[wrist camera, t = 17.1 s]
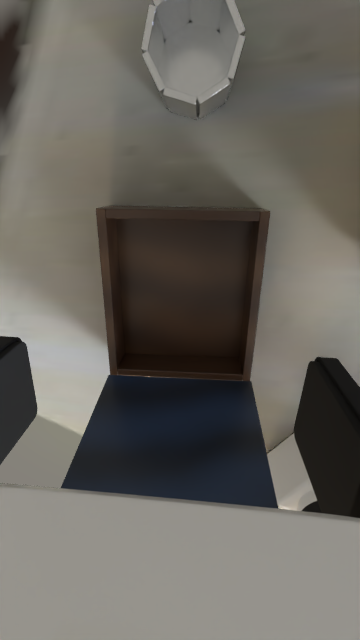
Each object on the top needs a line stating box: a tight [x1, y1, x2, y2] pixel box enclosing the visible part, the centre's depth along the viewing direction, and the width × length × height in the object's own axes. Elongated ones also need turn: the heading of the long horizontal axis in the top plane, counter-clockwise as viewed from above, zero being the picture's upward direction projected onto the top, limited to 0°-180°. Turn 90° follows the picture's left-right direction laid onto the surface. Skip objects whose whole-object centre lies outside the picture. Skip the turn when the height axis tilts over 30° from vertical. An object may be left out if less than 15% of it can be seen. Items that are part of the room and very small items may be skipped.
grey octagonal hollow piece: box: [141, 0, 246, 120], centre depth 23 cm, size 7×7×6 cm
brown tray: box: [96, 206, 270, 381], centre depth 31 cm, size 17×15×4 cm
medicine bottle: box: [267, 433, 322, 513], centre depth 35 cm, size 7×7×12 cm
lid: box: [61, 375, 278, 509], centre depth 24 cm, size 17×15×1 cm
